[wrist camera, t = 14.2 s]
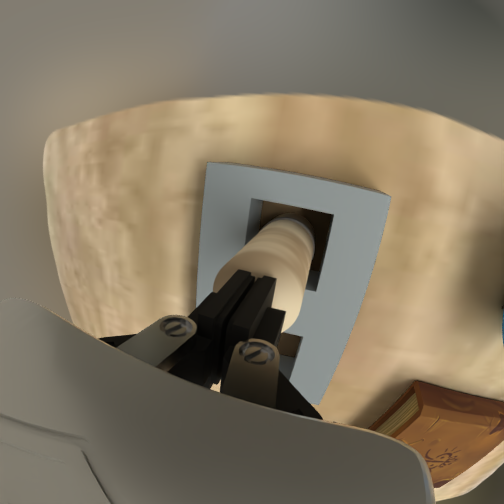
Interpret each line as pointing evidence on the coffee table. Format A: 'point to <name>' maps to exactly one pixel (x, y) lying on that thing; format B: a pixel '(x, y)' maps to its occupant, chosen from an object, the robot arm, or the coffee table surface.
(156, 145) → the coffee table surface
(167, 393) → the robot arm
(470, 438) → the diary
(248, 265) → the dowel
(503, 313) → the alarm clock
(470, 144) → the coffee table surface
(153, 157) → the coffee table surface
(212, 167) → the board
